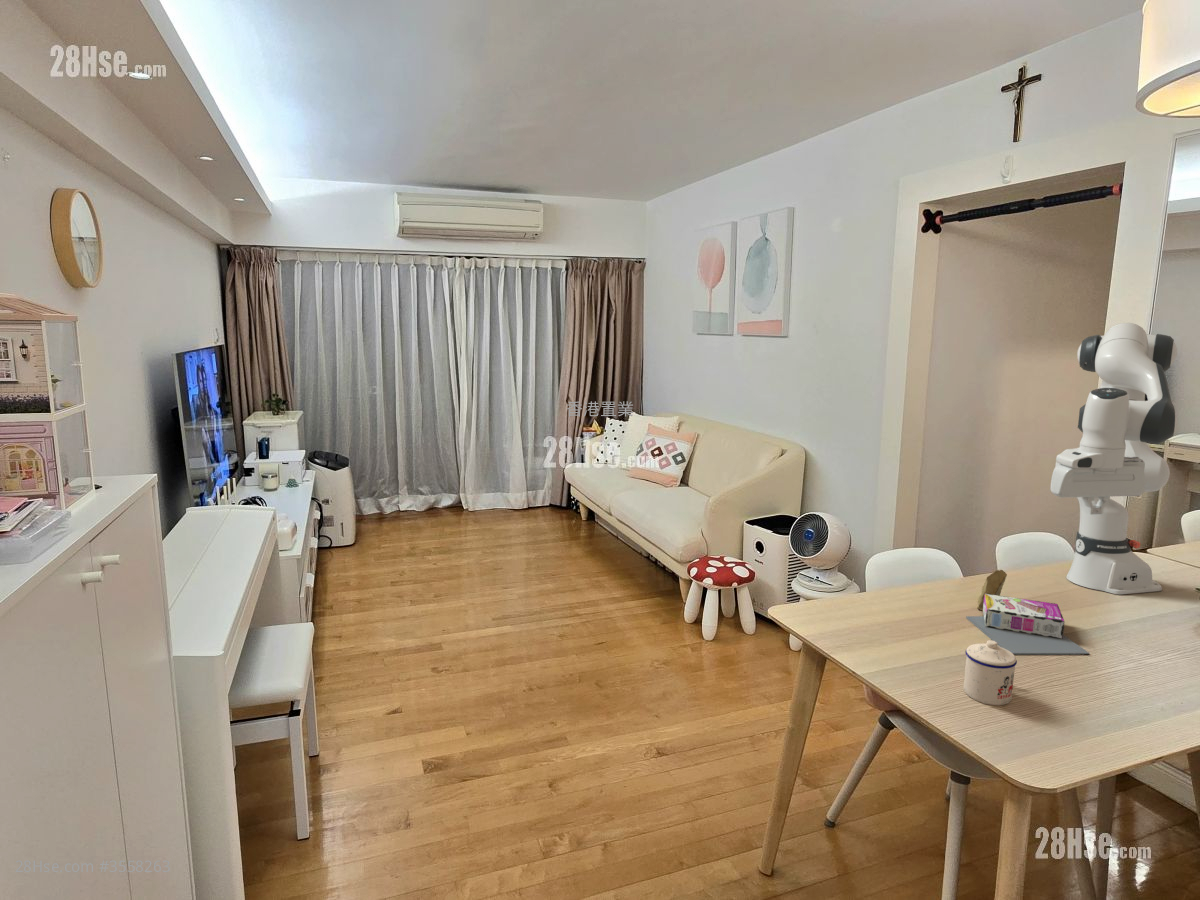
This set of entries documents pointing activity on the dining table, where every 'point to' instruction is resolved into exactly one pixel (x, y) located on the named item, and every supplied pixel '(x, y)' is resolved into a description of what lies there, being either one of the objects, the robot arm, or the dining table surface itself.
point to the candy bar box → (1023, 616)
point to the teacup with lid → (989, 673)
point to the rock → (992, 586)
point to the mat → (1028, 641)
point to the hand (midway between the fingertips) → (1093, 513)
